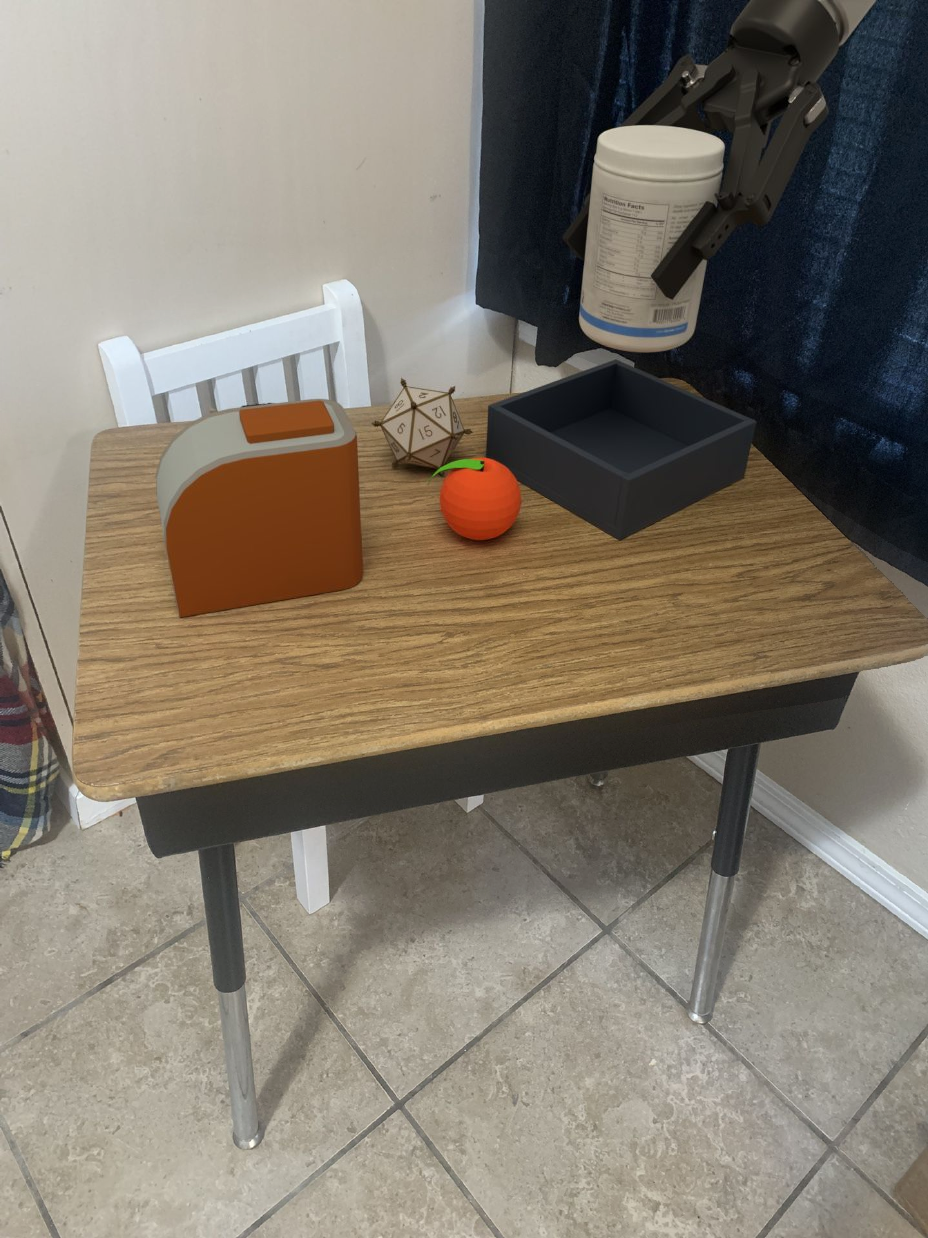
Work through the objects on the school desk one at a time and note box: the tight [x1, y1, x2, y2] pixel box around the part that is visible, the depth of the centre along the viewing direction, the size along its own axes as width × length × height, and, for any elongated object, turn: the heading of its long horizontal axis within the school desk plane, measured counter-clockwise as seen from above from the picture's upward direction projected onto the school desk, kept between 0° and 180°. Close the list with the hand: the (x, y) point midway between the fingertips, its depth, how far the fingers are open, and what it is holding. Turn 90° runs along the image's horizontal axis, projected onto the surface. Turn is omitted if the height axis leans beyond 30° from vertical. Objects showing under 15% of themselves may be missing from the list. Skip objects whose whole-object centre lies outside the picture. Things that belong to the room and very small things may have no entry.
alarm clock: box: [155, 398, 364, 618], centre depth 75 cm, size 15×8×14 cm, turn 108°
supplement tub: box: [578, 125, 726, 353], centre depth 76 cm, size 10×10×15 cm
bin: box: [485, 359, 758, 541], centre depth 93 cm, size 18×18×6 cm
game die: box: [370, 377, 474, 478], centre depth 92 cm, size 9×8×10 cm
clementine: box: [427, 457, 522, 541], centre depth 83 cm, size 8×7×7 cm
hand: (615, 267), depth 75 cm, fingers closed on supplement tub, 9 cm apart
